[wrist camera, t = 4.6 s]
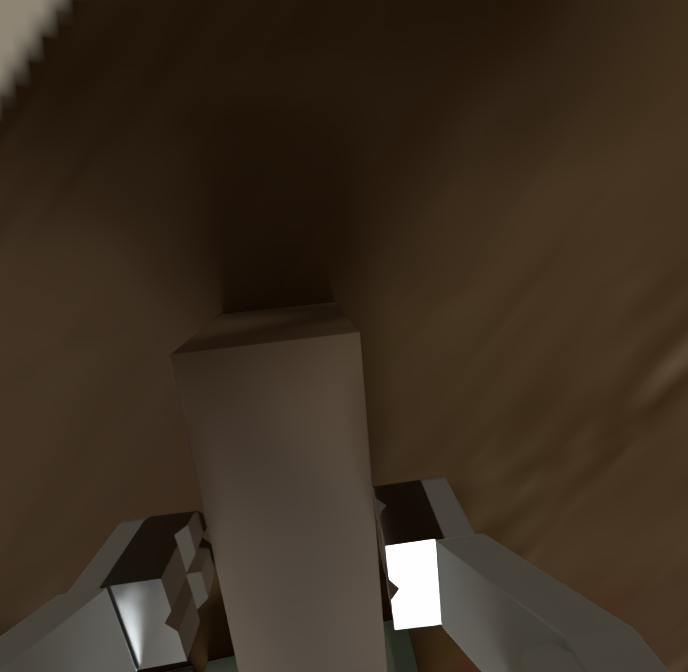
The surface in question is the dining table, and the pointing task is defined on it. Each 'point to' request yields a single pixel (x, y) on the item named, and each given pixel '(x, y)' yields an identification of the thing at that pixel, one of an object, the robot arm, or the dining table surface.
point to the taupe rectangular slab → (287, 485)
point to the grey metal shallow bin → (183, 669)
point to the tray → (396, 646)
